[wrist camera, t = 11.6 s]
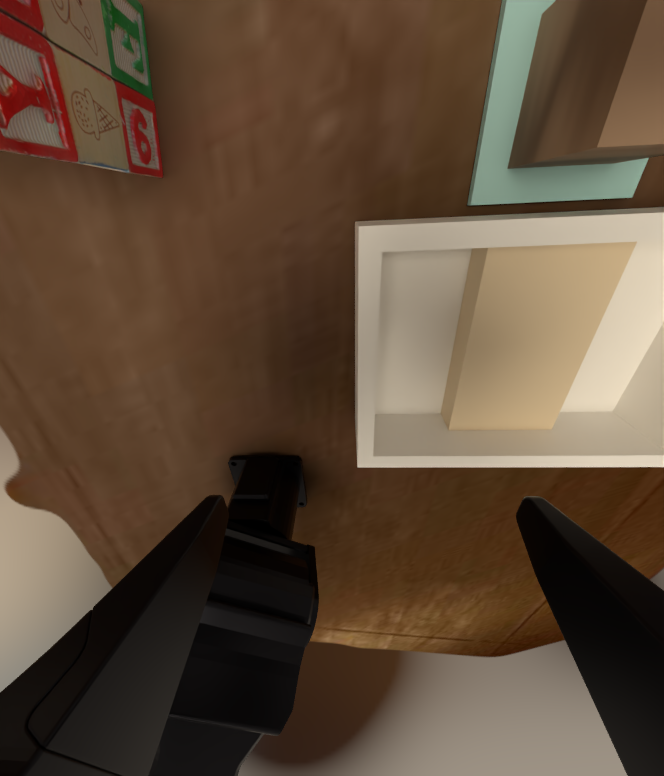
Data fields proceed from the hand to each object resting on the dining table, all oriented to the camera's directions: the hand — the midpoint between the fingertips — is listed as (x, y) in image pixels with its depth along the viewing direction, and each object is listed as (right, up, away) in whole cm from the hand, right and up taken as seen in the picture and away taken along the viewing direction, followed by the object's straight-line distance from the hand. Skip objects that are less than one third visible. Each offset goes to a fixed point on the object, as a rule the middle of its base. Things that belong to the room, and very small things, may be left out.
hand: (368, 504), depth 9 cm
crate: (+10, +7, +11) cm, 16 cm away
